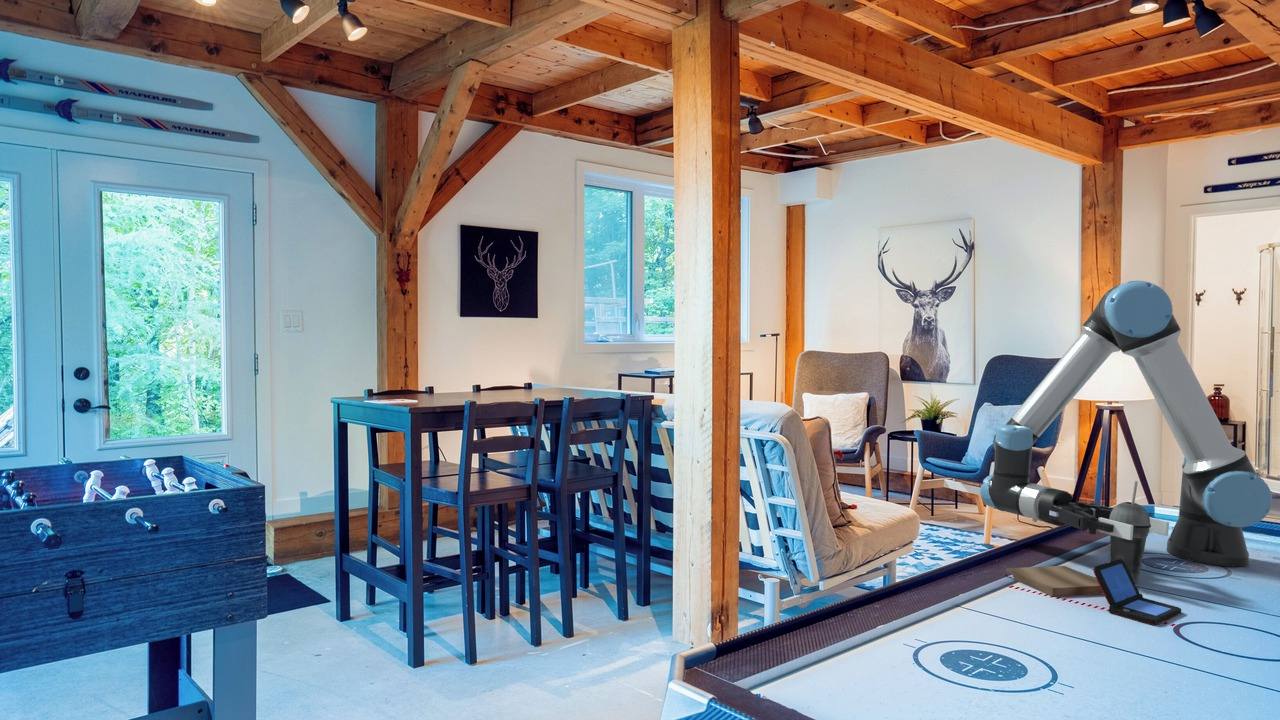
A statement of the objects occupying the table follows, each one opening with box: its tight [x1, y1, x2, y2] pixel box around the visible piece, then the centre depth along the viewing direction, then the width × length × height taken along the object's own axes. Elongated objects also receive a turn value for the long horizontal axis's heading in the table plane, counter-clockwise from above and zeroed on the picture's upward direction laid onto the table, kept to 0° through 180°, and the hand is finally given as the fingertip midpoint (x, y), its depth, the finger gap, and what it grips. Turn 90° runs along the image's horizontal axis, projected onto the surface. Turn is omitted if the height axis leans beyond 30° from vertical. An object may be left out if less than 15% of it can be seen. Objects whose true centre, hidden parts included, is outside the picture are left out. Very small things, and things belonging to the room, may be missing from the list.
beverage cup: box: [1109, 480, 1151, 585], centre depth 165 cm, size 7×7×20 cm
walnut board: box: [1005, 565, 1104, 597], centre depth 161 cm, size 14×12×2 cm
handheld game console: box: [1092, 559, 1182, 626], centre depth 147 cm, size 12×11×7 cm
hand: (1149, 530), depth 161 cm, fingers open, 10 cm apart
